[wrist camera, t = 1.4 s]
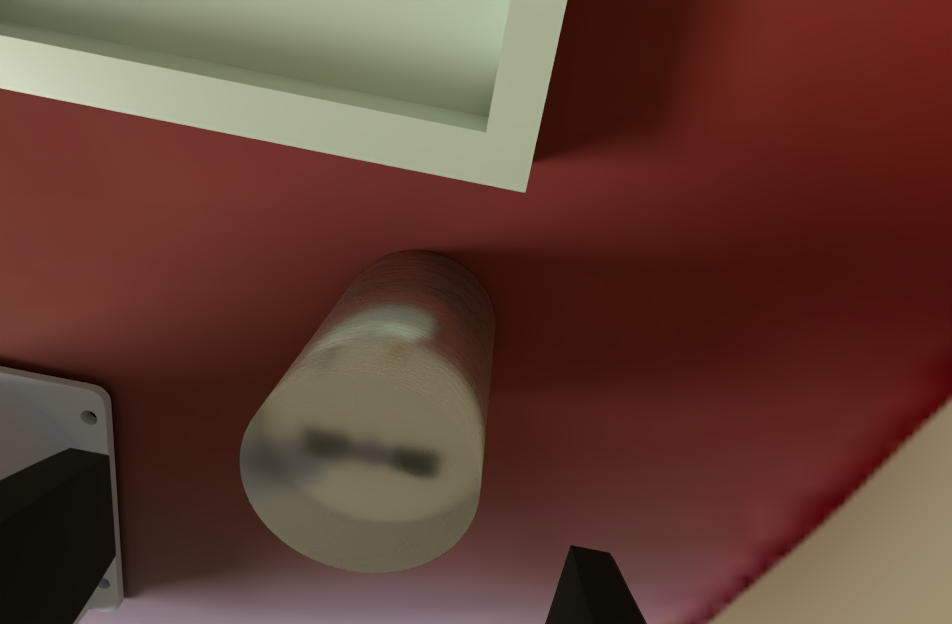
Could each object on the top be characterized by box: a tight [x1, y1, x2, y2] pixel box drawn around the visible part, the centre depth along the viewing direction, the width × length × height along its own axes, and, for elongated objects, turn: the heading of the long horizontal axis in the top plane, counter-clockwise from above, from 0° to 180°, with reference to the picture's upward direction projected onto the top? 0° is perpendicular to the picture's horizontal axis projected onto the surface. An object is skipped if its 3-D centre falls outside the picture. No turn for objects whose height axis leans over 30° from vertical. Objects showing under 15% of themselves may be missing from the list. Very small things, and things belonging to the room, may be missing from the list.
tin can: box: [239, 250, 495, 573], centre depth 14 cm, size 4×4×7 cm
